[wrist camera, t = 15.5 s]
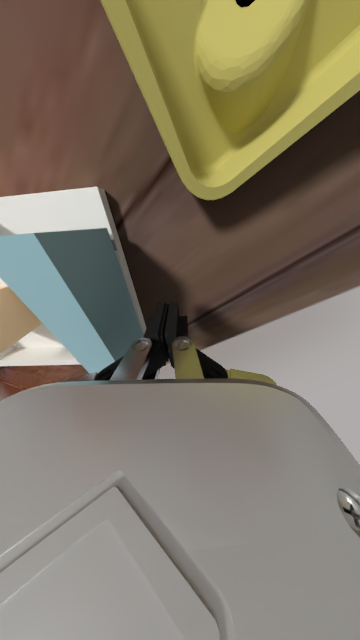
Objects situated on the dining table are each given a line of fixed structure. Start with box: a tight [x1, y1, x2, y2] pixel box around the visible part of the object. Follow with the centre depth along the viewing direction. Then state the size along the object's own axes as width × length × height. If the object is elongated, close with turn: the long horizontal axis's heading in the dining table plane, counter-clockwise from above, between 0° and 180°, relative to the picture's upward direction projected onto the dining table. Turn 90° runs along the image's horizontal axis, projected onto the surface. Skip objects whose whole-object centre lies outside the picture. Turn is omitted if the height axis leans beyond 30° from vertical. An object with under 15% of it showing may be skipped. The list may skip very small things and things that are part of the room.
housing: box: [0, 187, 146, 366], centre depth 14 cm, size 22×18×4 cm
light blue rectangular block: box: [0, 228, 144, 373], centre depth 11 cm, size 3×13×6 cm, turn 4°
